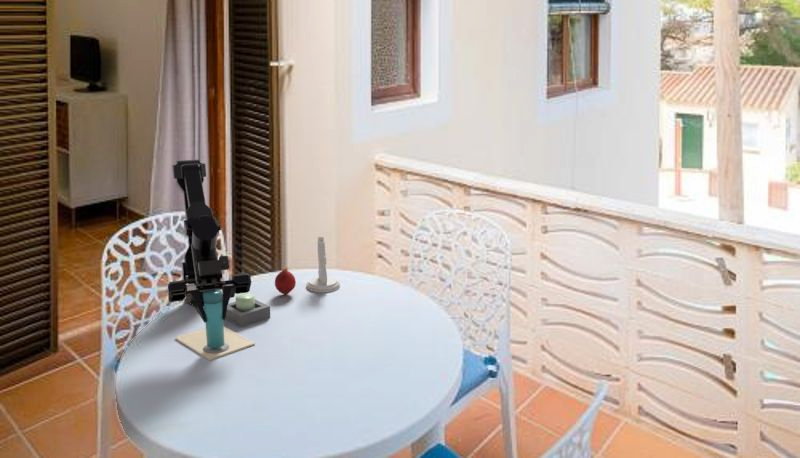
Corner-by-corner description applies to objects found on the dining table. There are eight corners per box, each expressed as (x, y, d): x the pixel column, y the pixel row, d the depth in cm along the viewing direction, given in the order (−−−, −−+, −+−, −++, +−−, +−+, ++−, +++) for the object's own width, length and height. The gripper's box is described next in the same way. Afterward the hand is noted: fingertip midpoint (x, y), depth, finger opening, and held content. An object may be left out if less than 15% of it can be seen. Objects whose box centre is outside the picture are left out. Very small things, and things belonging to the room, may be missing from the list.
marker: (208, 340, 167) (204, 289, 163) (226, 340, 167) (223, 289, 164) (204, 348, 163) (201, 295, 159) (223, 348, 163) (220, 295, 160)
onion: (291, 299, 197) (290, 272, 195) (272, 297, 198) (271, 270, 196) (298, 292, 202) (297, 265, 200) (279, 290, 203) (278, 264, 201)
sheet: (175, 339, 171) (175, 337, 171) (219, 325, 179) (219, 323, 179) (209, 360, 160) (209, 358, 160) (254, 344, 168) (254, 343, 168)
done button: (232, 309, 184) (231, 297, 183) (248, 304, 187) (247, 292, 186) (242, 314, 181) (242, 301, 180) (258, 309, 184) (258, 297, 183)
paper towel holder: (309, 293, 201) (308, 243, 197) (303, 282, 210) (302, 234, 206) (343, 290, 204) (342, 240, 200) (336, 279, 213) (335, 231, 209)
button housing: (221, 316, 184) (221, 305, 184) (251, 307, 190) (250, 297, 190) (240, 326, 178) (240, 315, 177) (270, 317, 184) (270, 306, 184)
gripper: (164, 248, 159) (172, 312, 152) (247, 240, 166) (259, 300, 159) (164, 270, 168) (172, 331, 161) (243, 262, 175) (254, 320, 168)
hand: (214, 320), depth 162 cm, fingers closed on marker, 4 cm apart
